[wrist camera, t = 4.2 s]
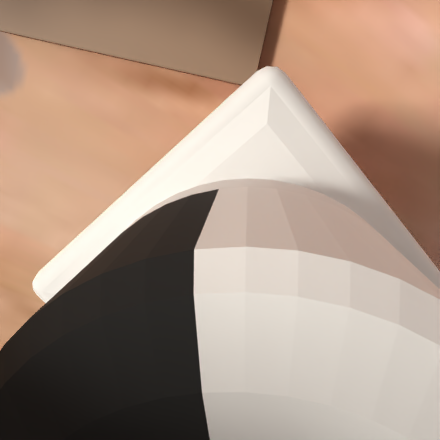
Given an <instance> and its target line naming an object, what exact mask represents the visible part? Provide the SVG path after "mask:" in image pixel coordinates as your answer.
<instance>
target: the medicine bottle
mask: <svg viewBox="0 0 440 440" xmlns="http://www.w3.org/2000/svg"><path fill="white" fill-rule="evenodd" d="M32 283H33V290H34V291H35V293H36V294H37V296H39V297H40V298H41V299H42V300H43V301H44V302H45V303H46V304H45V305H44V306H42V307H41V308H40V309H39V310H38V311H37V312H36V313H35V314H34V315H33V316H32V317H31V318H30V319H29V320H28V321H27V322H26V323H25V324H24V325H23V326H22V327H21V328H20V329H19V330H18V331H17V332H16V333H15V334H14V335H13V336H12V337H11V338H10V339H9V340H8V342H7V343H6V344H5V345H4V346H3V348H2V349H1V351H0V440H440V271H439V270H438V268H437V267H436V266H435V265H434V263H433V262H432V261H431V259H430V258H429V257H428V256H427V254H426V253H425V252H424V250H423V249H422V248H421V247H420V245H419V244H418V243H417V241H416V240H415V239H414V238H413V236H412V235H411V234H410V232H409V231H408V230H407V229H406V227H405V226H404V225H403V223H402V222H401V221H400V220H399V218H398V217H397V216H396V214H395V213H394V212H393V211H392V209H391V208H390V207H389V205H388V204H387V203H386V202H385V200H384V199H383V198H382V196H381V195H380V194H379V193H378V191H377V190H376V189H375V187H374V186H373V185H372V184H371V182H370V181H369V180H368V178H367V177H366V176H365V175H364V173H363V172H362V171H361V169H360V168H359V167H358V166H357V164H356V163H355V162H354V160H353V159H352V158H351V157H350V155H349V154H348V153H347V151H346V150H345V149H344V148H343V146H342V145H341V144H340V142H339V141H338V140H337V139H336V137H335V136H334V135H333V133H332V132H331V131H330V130H329V128H328V127H327V126H326V124H325V123H324V122H323V121H322V119H321V118H320V117H319V115H318V114H317V113H316V112H315V110H314V109H313V108H312V106H311V105H310V104H309V103H308V101H307V100H306V99H305V97H304V96H303V95H302V94H301V92H300V91H299V90H298V88H297V87H296V86H295V85H294V83H293V82H292V81H291V79H290V78H289V77H288V76H287V74H286V73H285V72H283V71H282V70H281V69H279V68H278V67H272V66H266V67H264V68H262V69H260V70H258V71H256V72H255V73H254V74H253V75H252V76H251V77H250V78H249V79H248V80H247V81H246V82H244V83H243V84H242V85H241V86H240V87H239V88H238V89H237V90H236V91H235V92H234V93H233V94H231V95H230V96H229V97H228V98H227V99H226V100H225V101H224V102H223V103H222V104H221V105H219V106H218V107H217V108H216V109H215V110H214V111H213V112H212V113H211V114H210V115H209V116H207V117H206V118H205V119H204V120H203V121H202V122H201V123H200V124H199V125H198V126H197V127H195V128H194V129H193V130H192V131H191V132H190V133H189V134H188V135H187V136H186V137H185V138H184V139H182V140H181V141H180V142H179V143H178V144H177V145H176V146H175V147H174V148H173V149H172V150H170V151H169V152H168V153H167V154H166V155H165V156H164V157H163V158H162V159H161V160H160V161H158V162H157V163H156V164H155V165H154V166H153V167H152V168H151V169H150V170H149V171H148V172H147V173H145V174H144V175H143V176H142V177H141V178H140V179H139V180H138V181H137V182H136V183H135V184H133V185H132V186H131V187H130V188H129V189H128V190H127V191H126V192H125V193H124V194H123V195H121V196H120V197H119V198H118V199H117V200H116V201H115V202H114V203H113V204H112V205H111V206H110V207H108V208H107V209H106V210H105V211H104V212H103V213H102V214H101V215H100V216H99V217H98V218H96V219H95V220H94V221H93V222H92V223H91V224H90V225H89V226H88V227H87V228H86V229H84V230H83V231H82V232H81V233H80V234H79V235H78V236H77V237H76V238H75V239H74V240H73V241H71V242H70V243H69V244H68V245H67V246H66V247H65V248H64V249H63V250H62V251H61V252H59V253H58V254H57V255H56V256H55V257H54V258H53V259H52V260H51V261H50V262H49V263H47V264H46V265H45V266H44V267H43V268H42V269H41V270H40V271H39V272H38V274H37V275H36V277H35V279H34V280H33V282H32Z"/></svg>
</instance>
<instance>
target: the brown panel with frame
mask: <svg viewBox="0 0 440 440" xmlns="http://www.w3.org/2000/svg"><path fill="white" fill-rule="evenodd" d="M272 2H273V0H0V31H2V32H6V33H10V34H15V35H19V36H24V37H28V38H33V39H37V40H42V41H46V42H51V43H55V44H60V45H64V46H68V47H73V48H77V49H82V50H86V51H91V52H95V53H100V54H104V55H109V56H113V57H118V58H122V59H126V60H131V61H135V62H140V63H144V64H149V65H153V66H158V67H162V68H167V69H171V70H176V71H180V72H184V73H189V74H193V75H198V76H202V77H207V78H211V79H216V80H220V81H225V82H229V83H234V84H238V85H242V84H243V83H244V82H246V81H247V80H248V79H249V78H250V77H251V76H252V75H253V74H254V73H255V72H256V71H257V68H258V64H259V60H260V55H261V51H262V46H263V42H264V38H265V33H266V29H267V24H268V20H269V16H270V11H271V7H272Z"/></svg>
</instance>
